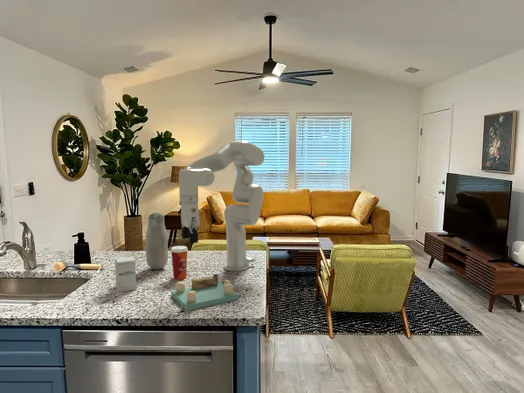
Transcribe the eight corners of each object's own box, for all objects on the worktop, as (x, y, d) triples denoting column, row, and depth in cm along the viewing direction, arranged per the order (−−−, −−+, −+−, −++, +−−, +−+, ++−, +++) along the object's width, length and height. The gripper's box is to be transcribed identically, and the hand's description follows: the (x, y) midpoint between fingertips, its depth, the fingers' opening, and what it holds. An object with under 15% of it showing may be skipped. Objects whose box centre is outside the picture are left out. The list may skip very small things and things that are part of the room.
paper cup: (184, 280, 163) (183, 249, 162) (168, 279, 164) (167, 249, 163) (191, 275, 171) (190, 245, 169) (175, 274, 172) (175, 245, 171)
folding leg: (216, 282, 153) (216, 273, 153) (219, 284, 151) (218, 275, 151) (191, 287, 147) (191, 277, 147) (193, 289, 145) (193, 279, 145)
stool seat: (219, 286, 155) (219, 273, 155) (238, 299, 141) (238, 285, 140) (171, 295, 145) (171, 282, 144) (186, 311, 130) (185, 296, 130)
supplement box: (117, 292, 148) (116, 262, 147) (115, 287, 155) (114, 258, 154) (136, 289, 152) (135, 260, 151) (134, 284, 158) (132, 255, 157)
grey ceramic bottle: (142, 270, 178) (140, 213, 175) (156, 264, 188) (154, 210, 185) (159, 272, 174) (157, 214, 172) (172, 266, 184) (170, 211, 181)
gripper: (205, 200, 144) (206, 243, 146) (190, 197, 159) (191, 236, 161) (187, 202, 140) (188, 246, 142) (173, 198, 155) (174, 237, 157)
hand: (189, 240), depth 151 cm, fingers open, 9 cm apart
